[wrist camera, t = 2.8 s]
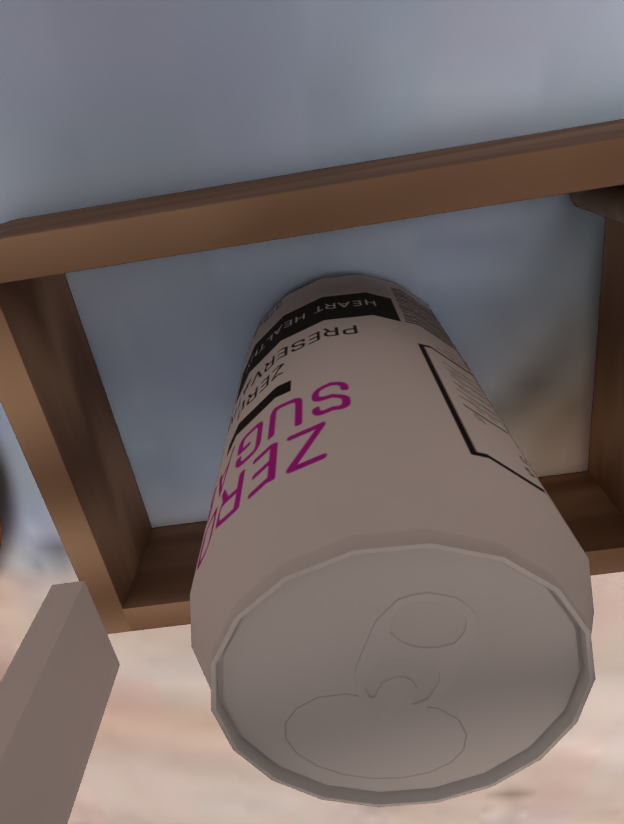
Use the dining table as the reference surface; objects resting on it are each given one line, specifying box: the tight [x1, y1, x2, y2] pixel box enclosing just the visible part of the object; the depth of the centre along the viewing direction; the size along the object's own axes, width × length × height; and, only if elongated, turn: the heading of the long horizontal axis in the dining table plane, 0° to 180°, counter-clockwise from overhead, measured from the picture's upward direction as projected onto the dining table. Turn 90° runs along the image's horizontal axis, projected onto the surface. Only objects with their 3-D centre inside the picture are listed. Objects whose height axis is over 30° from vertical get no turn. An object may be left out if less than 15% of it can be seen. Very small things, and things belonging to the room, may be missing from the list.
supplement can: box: [190, 274, 595, 807], centre depth 18 cm, size 8×8×15 cm
